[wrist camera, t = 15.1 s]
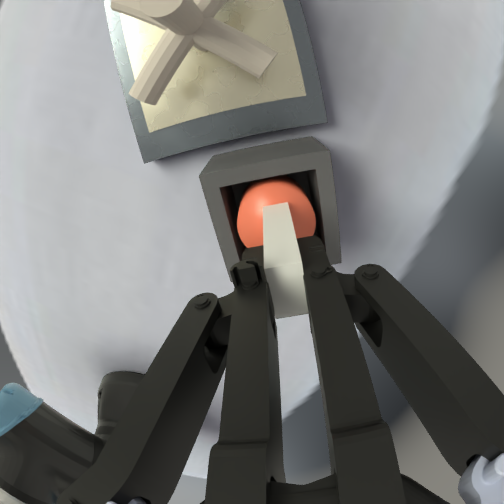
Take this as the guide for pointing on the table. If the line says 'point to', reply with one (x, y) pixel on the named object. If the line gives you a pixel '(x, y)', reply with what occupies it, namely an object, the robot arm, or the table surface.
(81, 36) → the table surface
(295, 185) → the press button
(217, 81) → the press frame
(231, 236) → the button housing
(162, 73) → the pipe connector
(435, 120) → the table surface
